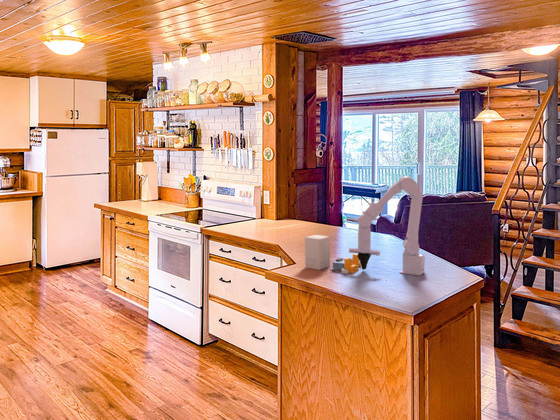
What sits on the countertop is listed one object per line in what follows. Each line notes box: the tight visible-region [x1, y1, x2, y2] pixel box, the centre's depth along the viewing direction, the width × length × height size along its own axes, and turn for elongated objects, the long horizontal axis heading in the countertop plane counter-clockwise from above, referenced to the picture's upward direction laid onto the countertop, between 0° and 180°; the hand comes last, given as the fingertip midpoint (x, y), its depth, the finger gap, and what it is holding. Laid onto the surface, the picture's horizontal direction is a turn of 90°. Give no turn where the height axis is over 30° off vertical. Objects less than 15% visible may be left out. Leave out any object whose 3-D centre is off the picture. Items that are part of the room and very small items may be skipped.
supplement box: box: [304, 234, 331, 271], centre depth 234 cm, size 9×9×15 cm
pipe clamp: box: [344, 253, 360, 274], centre depth 229 cm, size 12×4×6 cm, turn 149°
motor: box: [329, 257, 362, 275], centre depth 231 cm, size 10×17×4 cm, turn 149°
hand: (364, 269), depth 226 cm, fingers closed
